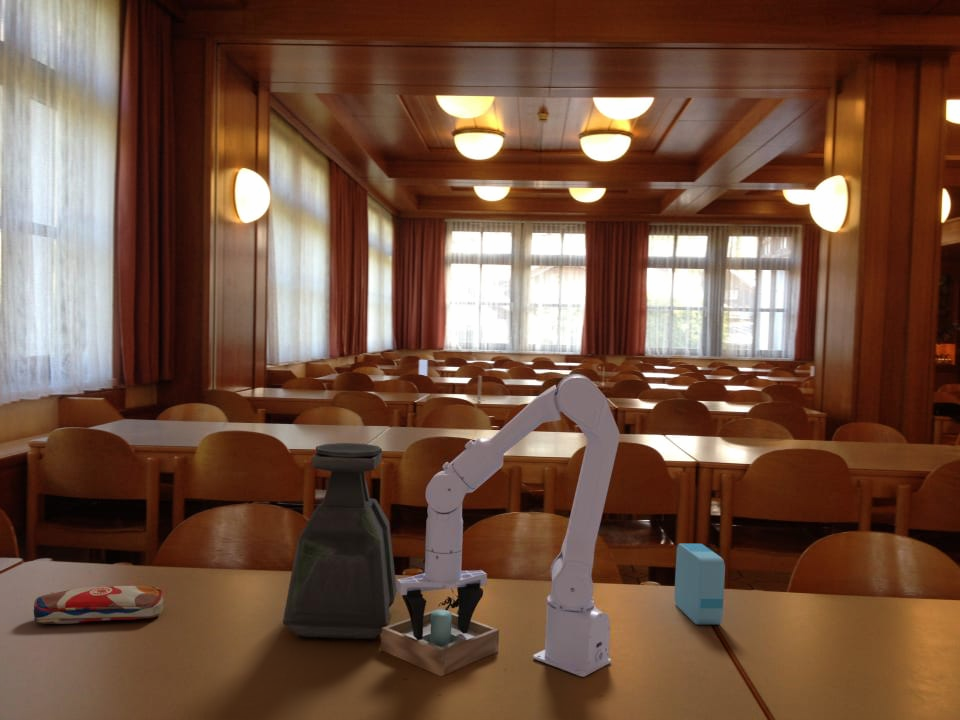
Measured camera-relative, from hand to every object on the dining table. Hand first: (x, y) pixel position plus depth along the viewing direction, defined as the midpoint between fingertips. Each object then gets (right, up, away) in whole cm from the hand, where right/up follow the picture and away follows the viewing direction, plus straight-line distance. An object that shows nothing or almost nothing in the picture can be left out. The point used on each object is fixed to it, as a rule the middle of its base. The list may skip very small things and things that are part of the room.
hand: (440, 634), depth 124 cm
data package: (+46, -4, +21) cm, 51 cm away
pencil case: (-58, -1, +8) cm, 58 cm away
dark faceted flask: (-17, -2, +10) cm, 20 cm away
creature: (+2, -2, +16) cm, 17 cm away
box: (0, -3, 0) cm, 3 cm away
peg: (0, -3, 0) cm, 3 cm away
